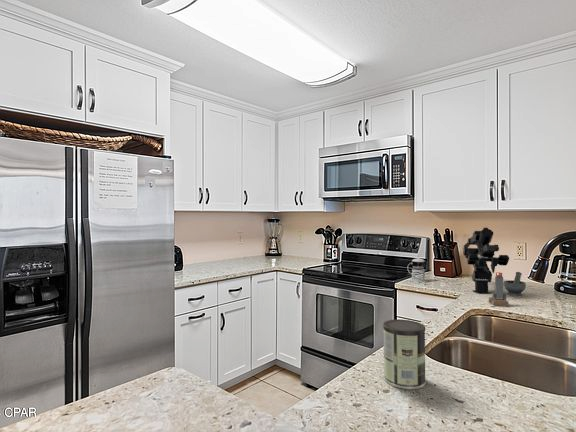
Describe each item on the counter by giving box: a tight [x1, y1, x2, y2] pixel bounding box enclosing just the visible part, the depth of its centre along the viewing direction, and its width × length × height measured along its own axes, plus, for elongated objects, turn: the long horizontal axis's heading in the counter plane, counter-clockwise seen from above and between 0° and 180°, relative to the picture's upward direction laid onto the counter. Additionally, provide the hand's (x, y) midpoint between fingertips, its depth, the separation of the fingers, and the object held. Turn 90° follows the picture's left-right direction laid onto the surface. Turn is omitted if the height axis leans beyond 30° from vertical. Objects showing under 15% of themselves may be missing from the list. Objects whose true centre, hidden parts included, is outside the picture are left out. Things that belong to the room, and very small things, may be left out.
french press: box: [407, 243, 426, 282], centre depth 228 cm, size 10×12×25 cm
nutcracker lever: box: [494, 272, 504, 298], centre depth 166 cm, size 3×3×12 cm
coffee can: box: [382, 319, 427, 390], centre depth 89 cm, size 10×10×14 cm
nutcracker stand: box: [488, 292, 509, 308], centre depth 167 cm, size 8×6×6 cm
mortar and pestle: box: [503, 271, 527, 297], centre depth 188 cm, size 11×9×12 cm
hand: (491, 272), depth 177 cm, fingers closed
